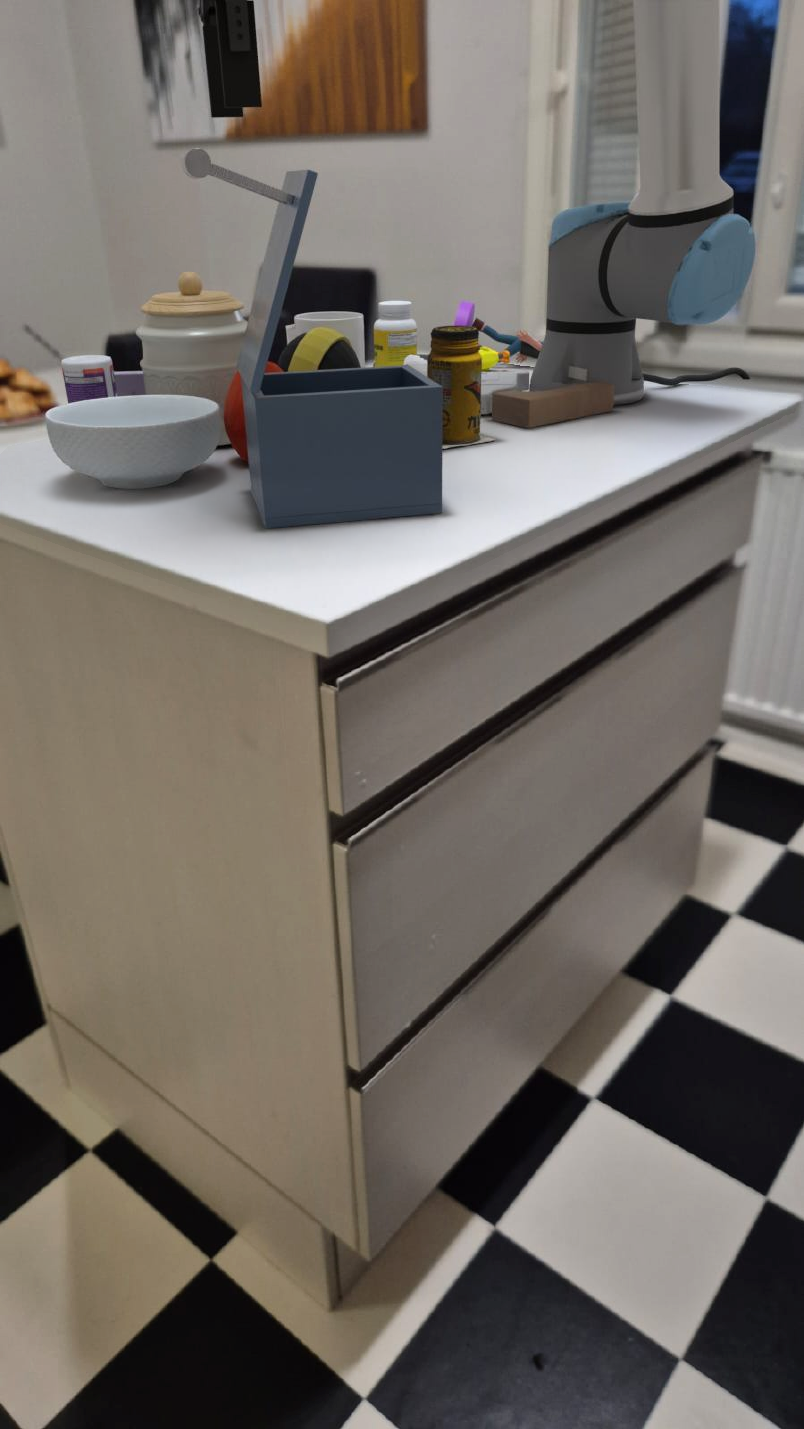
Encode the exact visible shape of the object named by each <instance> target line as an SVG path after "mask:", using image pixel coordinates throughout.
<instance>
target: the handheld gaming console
mask: <svg viewBox="0 0 804 1429" xmlns="http://www.w3.org/2000/svg"><path fill="white" fill-rule="evenodd" d="M529 386H530V372H529V370H516V371H515V370H514V371H513V370H512V371H511V370H509V371H508V370H507V371H483V372H481V409H480V412H481V415H490V414H492V394H493V393H497V392H503V391H509V390H519V391H529Z"/></svg>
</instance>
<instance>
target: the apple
mask: <svg viewBox="0 0 804 1429" xmlns="http://www.w3.org/2000/svg"><path fill="white" fill-rule="evenodd" d="M277 372H283V370H282V369H281V368H280V367H279V366H278V363H277V364H276V363H275V362H272V361H269V360H268V362H267V365H266V369H265V373H277ZM223 419H224V425H225V430H226V433H227V436H228V438H229V440H230V442H231V444H230V445H231V447H232V448H233V450H234V451H235V453H236V454H237V455H238V456H239V458H240V460H243V461H244V462H246V463H248V464H249V461H248V450H247V438H246V427H245V416H244V405H243V394H242V383H241V375H240V373H239V371H238V370H237V372H236V374H235V376H234V378H233V380H232V382H231V385H230V388H229V391H228V394H227V397H226V400H225V408H224V418H223Z"/></svg>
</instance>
